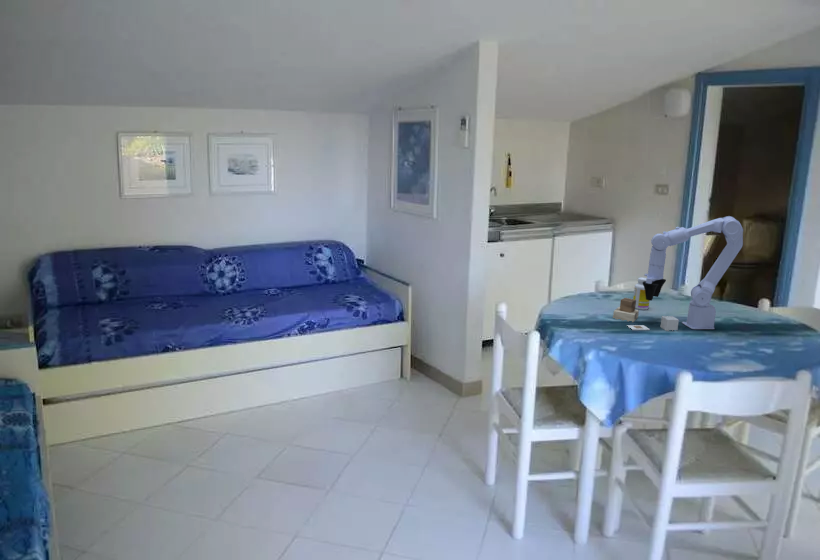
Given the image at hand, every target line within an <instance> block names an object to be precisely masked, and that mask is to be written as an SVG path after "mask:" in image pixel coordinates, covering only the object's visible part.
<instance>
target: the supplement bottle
mask: <svg viewBox="0 0 820 560" xmlns="http://www.w3.org/2000/svg"><path fill="white" fill-rule="evenodd" d="M646 279H647V277H638V278H637V283H636V284H635V285H634V287H633V289H634V290H633V296H632V299H634V300H636V306H635V310H640V311H644V310H648V309H649V307H650V300H646V295H645V289H644V286H643V282H644V281H646Z"/></svg>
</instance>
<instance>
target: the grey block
mask: <svg viewBox="0 0 820 560" xmlns="http://www.w3.org/2000/svg"><path fill="white" fill-rule="evenodd" d="M660 319H661V320H660V328H661V329H662V330H664V331H665V332H670V331H669V330H672V331H671V332H674V331H673V330H677V331H678V329H679V321H680V320H679V319H678V318H677V317H675V316H673V315H668V316H667V315H666V316H665V315H663V316H661V318H660Z"/></svg>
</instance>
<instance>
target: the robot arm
mask: <svg viewBox="0 0 820 560" xmlns="http://www.w3.org/2000/svg"><path fill="white" fill-rule="evenodd" d="M709 232H714V233H720V234H721V233H723V235H724V238H725V241H726V245H725V247H724V248H723V249H722V251H721V252H720V254H719V255H718V257H717V259H716V260H715V262H714V263H713V264H712V266H711V267H710V269H709V271H707V273H706V275H705V277H704V278H703V279H701V280H700V282H698V284H697V285H694V287H692V289H691V290H690V296H691V300H690V301H689V305H688V311H687V312H688V313H687V317H686V321H682V322H681V324H683V325H685V326H686V327H688V328H689V329H691V330H715V320H716V316H717V314H716V313H717V311H716V307H715V306H714V305H713V304H710V303H711V301H712V297H713V294H714V292H715V290H716V286H717V285H718V284H719V282H720V281H721V279H722V278H723V276H724V274H725V273H726V272H727V270H728V269H729V267H730V266H731V264H732V263H733V261H734V260H735V259H736V257H737V255H738V253H739V252H740V251H741V250H742V248H743V245H744V241H743V240H744V237H743V236H744V227H742V224H741V223H740V221H739V220H738V219H736V218H735V217H734V216H730V215H728V216H724V217H718V218H715V219H712V220H711V219H710V220H709V221H706V222H703V223H700V224H697V225H695V226H692V227H688V228H686V227H684V226H681V227H680V226H676V227H675V229H671V230H669V231H666V230H665V231H662V233H656V234H654V235H653V236H652V237H651V239H650V241H651V248H650V250H651V251H650V255H649V261H648V268H647V269H648V270H647V273H644V275H643V276H644V277H646V278H647V279H646V281H644V282H643V286H644V289H645V295H646V300H650V301H653V299H654V297H656V298H659V296H660V293H661V290H662V288H663V286H664V284H665V283H666V280H667V279H666V278H664V274H665V273H664V271H665V264H666V258H667V254H666V252H667V248H669V247H672V246H676V245H679V244H683V243H685V242H688V241H689V238H691V237H694V236H695V237H696V236H697V235H703V234H705V233H709ZM650 301H649V302H650Z"/></svg>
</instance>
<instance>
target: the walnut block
mask: <svg viewBox="0 0 820 560" xmlns="http://www.w3.org/2000/svg"><path fill="white" fill-rule="evenodd" d="M635 306H636V300H634V299H633V298H629V297H624V298H621V299H620V304H619V307H620V311H624V312H629V313H631V312H633V311H635V310H636V308H635Z"/></svg>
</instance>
